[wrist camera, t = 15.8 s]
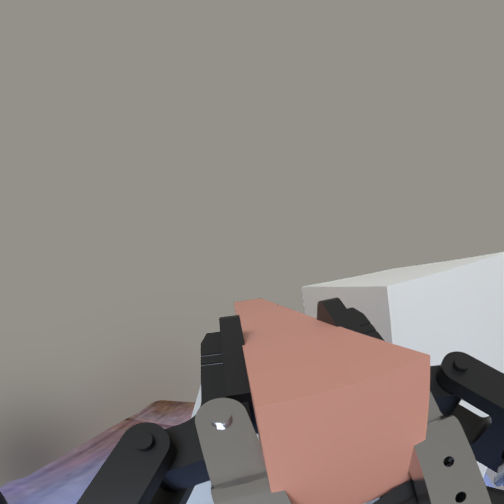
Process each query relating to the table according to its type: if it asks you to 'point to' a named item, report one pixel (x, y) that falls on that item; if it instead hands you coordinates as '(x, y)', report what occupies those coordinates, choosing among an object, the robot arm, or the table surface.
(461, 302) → the riser
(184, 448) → the robot arm
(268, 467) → the rod
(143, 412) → the table surface
